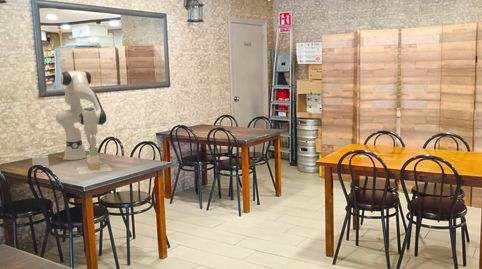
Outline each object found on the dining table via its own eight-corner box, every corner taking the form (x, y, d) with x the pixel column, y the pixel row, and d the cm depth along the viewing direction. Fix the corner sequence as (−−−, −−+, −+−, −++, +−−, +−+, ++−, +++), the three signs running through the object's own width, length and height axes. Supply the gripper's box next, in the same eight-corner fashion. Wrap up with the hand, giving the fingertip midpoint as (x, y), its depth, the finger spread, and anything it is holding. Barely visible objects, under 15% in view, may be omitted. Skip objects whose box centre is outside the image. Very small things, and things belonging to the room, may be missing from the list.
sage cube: (88, 154, 336) (88, 147, 335) (96, 153, 338) (95, 146, 338) (90, 155, 332) (90, 148, 331) (97, 154, 334) (97, 147, 333)
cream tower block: (87, 161, 337) (86, 154, 336) (97, 160, 340) (96, 153, 339) (89, 163, 331) (88, 156, 330) (99, 162, 334) (99, 155, 333)
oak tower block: (88, 168, 338) (87, 161, 337) (98, 167, 341) (97, 160, 340) (89, 170, 332) (88, 163, 331) (99, 169, 334) (99, 162, 334)
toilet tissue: (35, 173, 331) (33, 159, 330) (31, 170, 341) (29, 156, 339) (51, 170, 337) (50, 156, 336) (46, 167, 347) (45, 154, 345)
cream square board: (76, 168, 343) (75, 167, 343) (107, 164, 352) (107, 163, 351) (79, 175, 321) (79, 174, 321) (112, 171, 330) (112, 170, 330)
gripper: (97, 132, 324) (99, 152, 326) (93, 129, 342) (95, 148, 345) (87, 133, 321) (89, 153, 324) (84, 129, 340) (86, 148, 342)
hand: (92, 150), depth 334 cm, fingers open, 8 cm apart
